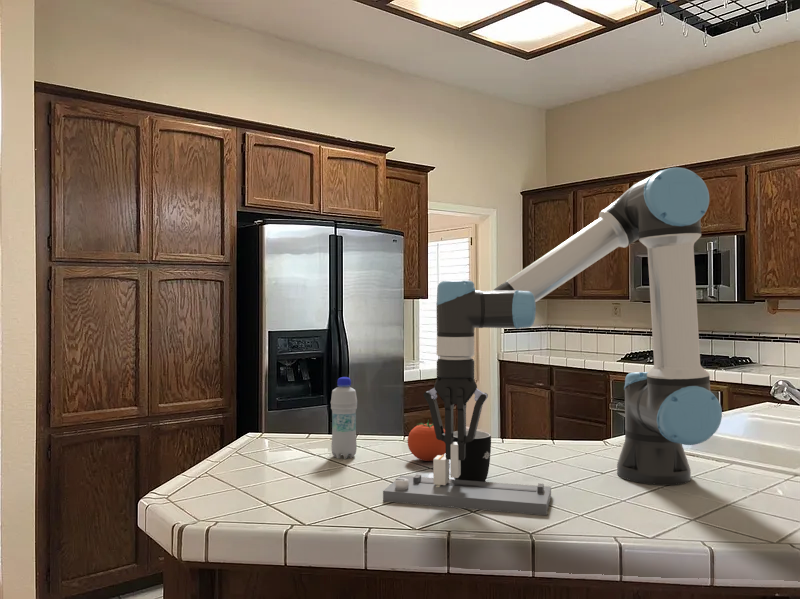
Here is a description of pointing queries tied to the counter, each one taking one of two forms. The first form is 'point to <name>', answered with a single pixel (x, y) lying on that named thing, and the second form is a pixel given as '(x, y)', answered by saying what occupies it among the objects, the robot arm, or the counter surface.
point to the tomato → (425, 442)
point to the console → (470, 495)
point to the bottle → (344, 419)
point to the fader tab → (441, 470)
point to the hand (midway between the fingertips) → (455, 475)
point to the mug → (475, 457)
